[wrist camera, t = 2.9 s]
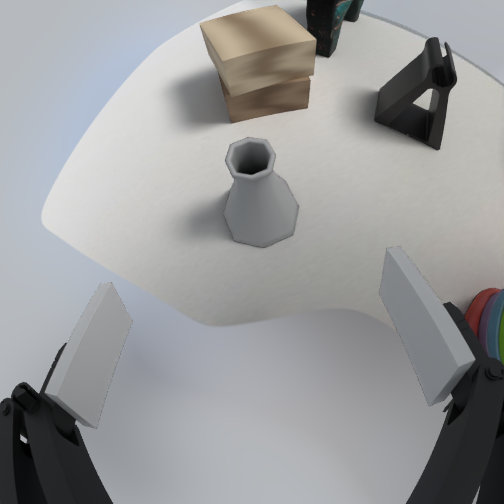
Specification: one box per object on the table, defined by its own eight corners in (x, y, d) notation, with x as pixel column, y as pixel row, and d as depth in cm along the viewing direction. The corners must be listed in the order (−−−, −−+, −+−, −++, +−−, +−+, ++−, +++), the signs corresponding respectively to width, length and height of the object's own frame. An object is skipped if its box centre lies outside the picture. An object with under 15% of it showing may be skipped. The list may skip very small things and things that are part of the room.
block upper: (278, 35, 26) (276, 5, 21) (313, 75, 24) (316, 39, 19) (208, 54, 26) (199, 23, 21) (231, 97, 24) (222, 61, 19)
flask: (293, 174, 27) (298, 109, 17) (304, 244, 25) (317, 203, 15) (222, 182, 27) (194, 122, 18) (226, 252, 26) (194, 217, 16)
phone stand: (373, 120, 27) (403, 45, 16) (379, 90, 28) (403, 21, 16) (438, 151, 26) (486, 91, 14) (438, 118, 27) (476, 60, 15)
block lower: (285, 65, 30) (284, 37, 26) (307, 109, 28) (310, 79, 24) (220, 77, 31) (212, 50, 26) (231, 124, 29) (224, 95, 24)
